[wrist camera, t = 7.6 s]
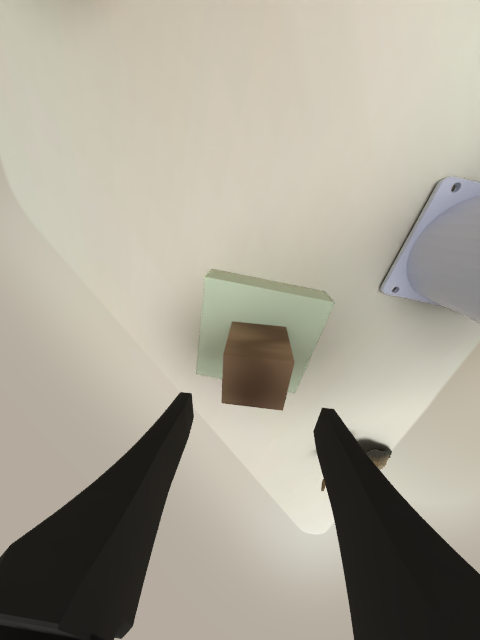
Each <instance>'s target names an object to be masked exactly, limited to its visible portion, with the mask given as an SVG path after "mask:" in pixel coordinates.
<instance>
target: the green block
mask: <svg viewBox="0 0 480 640" xmlns="http://www.w3.org/2000/svg"><path fill="white" fill-rule="evenodd" d="M334 303H335V302H334V301H333V300H332V299H331V298H330V297H329V295H328V294H327V293H326V292H325V291H320V290H315V289H309V288H304V287H299V286H294V285H289V284H284V283H279V282H274V281H269V280H264V279H259V278H254V277H249V276H244V275H239V274H234V273H229V272H224V271H219V270H214V269H212V270H211V271H210V272H209V273H208V274H207V275H206V276H205V284H204V295H203V305H202V316H201V327H200V338H199V348H198V359H197V370H196V374H198V375H203V376H209V377H214V378H219V379H222V376H223V353H224V350H225V346H226V342H227V338H228V335H229V331H230V327H231V323H232V321H233V322H244V323H254V324H264V325H274V326H284V327H286V328H287V332H288V337H289V341H290V345H291V349H292V353H293V357H294V362H295V363H294V367H293V371H292V375H291V379H290V383H289V387H288V391H287V392H290V393H295V391H296V389H297V387H298V385H299V382H300V380H301V378H302V376H303V373H304V371H305V369H306V366H307V364H308V362H309V360H310V357H311V355H312V353H313V351H314V348H315V346H316V344H317V342H318V339H319V337H320V335H321V333H322V330H323V328H324V326H325V323H326V321H327V319H328V317H329V314H330V312H331V310H332V308H333V305H334Z"/></svg>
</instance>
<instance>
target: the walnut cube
mask: <svg viewBox="0 0 480 640" xmlns="http://www.w3.org/2000/svg"><path fill="white" fill-rule="evenodd" d="M294 363H295V362H294V357H293V353H292V349H291V345H290V341H289V337H288V332H287V328H286V327H284V326H274V325H264V324H254V323H244V322H233V321H232V323H231V327H230V331H229V335H228V338H227V342H226V346H225V350H224V353H223V376H222V403H225V404H233V405H242V406H250V407H258V408H267V409H275V410H283V407H284V403H285V399H286V395H287V391H288V387H289V383H290V379H291V375H292V371H293V367H294Z"/></svg>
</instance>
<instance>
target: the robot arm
mask: <svg viewBox="0 0 480 640" xmlns="http://www.w3.org/2000/svg"><path fill="white" fill-rule="evenodd" d="M454 184H455V185H456V187H455V189H454V191H453V192H452V190H451V188H452V186H453V185H454ZM394 287H396V289H395V291H392V289H393V288H394ZM380 289H381V292H383V293H384V294H387V295H392V296H397V297H402V298H406V299H411V300H416V301H421V302H426V303H430V304H435V305H440V306H445V307H447V308H449V309H451V310H453V311H455V312H457V313H459V314H461V315H463V316H466V317H468V318H470V319H472V320H474V321H476V322H478V323H480V182H477V181H473V180H468V179H463V178H458V177H454V176H451V177H446V178H443V179H442V180H440V181H439V182H438V184H437V185H436V187H435V189H434V191H433V193H432V194H431V196H430V198H429V200H428V202H427V203H426V205H425V207H424V209H423V211H422V213H421V214H420V216H419V218H418V220H417V222H416V224H415V225H414V227H413V229H412V231H411V233H410V234H409V236H408V238H407V240H406V242H405V244H404V245H403V247H402V249H401V251H400V253H399V255H398V256H397V258H396V260H395V262H394V264H393V265H392V267H391V269H390V271H389V273H388V275H387V276H386V278H385V280H384V282H383V284H382V286H381V288H380ZM193 418H194V415H193V404H192V393H183V392H181V393H179V394H178V396H177V397H176V398H175V400H174V401H173V402H172V404H171V405H170V406H169V407H168V409H167V410H166V411H165V412H164V413H163V415H162V416H161V417H160V418H159V419H158V420H157V421H156V422H155V424H154V425H153V426H152V427H151V428H150V429H149V430H148V431H147V432H146V433H145V434H144V435H143V437H142V438H141V439H140V440H139V441H138V442H137V443H136V444H135V445H134V446H133V447H132V448H131V449H130V450H129V451H128V452H127V453H126V454H125V455H124V456H123V457H121V458H120V459H119V460H118V461H117V462H116V463H115V464H114V465H113V466H112V467H110V468H109V469H108V470H107V471H106V472H105V473H104V474H102V475H101V476H100V477H99V478H98V479H97V480H96V481H95V482H93V483H92V484H91V485H90V486H89V487H87V488H86V489H85V490H83V491H82V492H81V493H80V494H78V495H77V496H76V497H75V498H73V499H72V500H71V501H69V502H68V503H67V504H66V505H64V506H63V507H62V508H61V509H59V510H58V511H57V512H55V513H54V514H53V515H51V516H50V517H48V518H47V519H46V520H44V521H43V522H42V523H40V524H39V525H37V526H36V527H35V528H33V529H32V530H30V531H29V532H28V533H26V534H25V535H23V536H22V537H21V538H19V539H18V540H17V541H15V542H14V543H12V544H11V545H10V546H9V548H8V549H7V550H6V551H5V552H4V553H3V555H2V556H1V557H0V640H114V638H120V639H121V638H123V637H124V635H126V633H127V632H128V631H129V630H130V629H131V628H132V626H133V623H134V619H135V615H136V611H137V607H138V603H139V598H140V595H141V591H142V587H143V582H144V579H145V575H146V571H147V567H148V563H149V560H150V556H151V552H152V548H153V544H154V541H155V537H156V533H157V530H158V526H159V523H160V519H161V515H162V512H163V509H164V505H165V502H166V498H167V495H168V492H169V489H170V486H171V483H172V480H173V478H174V475H175V472H176V469H177V467H178V464H179V461H180V459H181V456H182V453H183V451H184V448H185V445H186V443H187V440H188V437H189V433H190V429H191V426H192V422H193ZM314 438H315V444H316V450H317V455H318V459H319V462H320V466H321V470H322V474H323V477H324V481H325V485H326V488H327V492H328V496H329V499H330V503H331V507H332V511H333V515H334V520H335V525H336V530H337V536H338V541H339V545H340V552H341V558H342V563H343V569H344V575H345V581H346V587H347V593H348V599H349V606H350V613H351V620H352V627H353V634H354V640H480V574H479V573H478V572H477V571H476V570H475V569H474V568H473V567H472V566H470V565H469V564H468V563H467V562H466V561H465V560H464V559H463V558H462V557H461V556H460V555H459V554H458V553H457V552H456V551H455V550H454V549H453V548H452V547H451V546H450V545H449V544H448V543H447V542H446V541H445V540H444V539H443V538H441V536H440V535H439V534H438V533H437V532H436V531H435V530H434V529H433V528H432V527H431V526H430V525H429V524H428V523H427V522H426V521H425V520H424V519H422V517H421V516H420V515H419V514H418V513H417V512H416V511H415V510H414V509H413V508H412V507H411V506H410V504H409V503H408V502H407V501H406V500H405V499H404V498H403V497H402V496H401V495H400V494H399V492H398V491H397V490H396V489H395V488H394V487H393V485H391V483H390V482H389V481H388V480H387V478H386V477H385V476H384V475H383V474H382V473H381V471H380V470H379V469H378V468H377V466H376V465H375V464H374V463H373V461H372V460H371V459H370V458H369V456H368V455H367V454H366V452H365V451H364V450H363V448H362V447H361V446H360V444H359V443H358V442H357V441H356V439H355V438H354V436H353V435H352V434H351V432H350V431H349V430H348V428H347V427H346V425H345V424H344V423H343V421H342V420H341V418H340V417H339V416H338V414H337V413H336V411H335V410H334V409H328V408H322V410H321V413H320V415H319V418H318V421H317V423H316V426H315V429H314Z"/></svg>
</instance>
